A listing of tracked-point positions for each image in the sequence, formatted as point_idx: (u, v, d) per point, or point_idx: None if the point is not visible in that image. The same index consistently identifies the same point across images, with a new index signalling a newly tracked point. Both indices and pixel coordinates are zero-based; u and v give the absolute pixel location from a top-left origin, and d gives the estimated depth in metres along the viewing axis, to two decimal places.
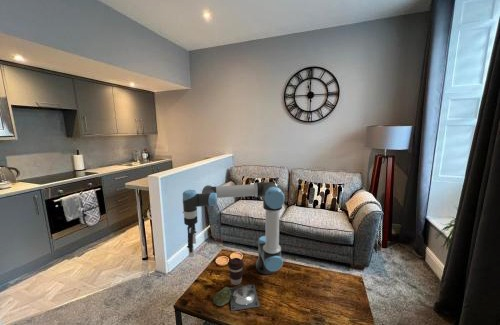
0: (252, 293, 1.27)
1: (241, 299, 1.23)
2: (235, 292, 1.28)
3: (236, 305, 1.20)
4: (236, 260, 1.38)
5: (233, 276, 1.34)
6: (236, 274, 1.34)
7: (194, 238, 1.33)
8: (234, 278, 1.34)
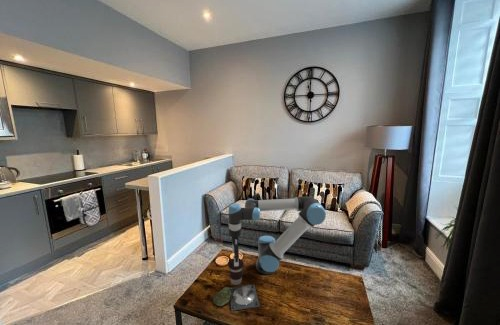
0: (252, 293, 1.27)
1: (241, 299, 1.23)
2: (235, 292, 1.28)
3: (236, 305, 1.20)
4: None
5: (233, 276, 1.34)
6: (236, 274, 1.34)
7: None
8: (234, 278, 1.34)
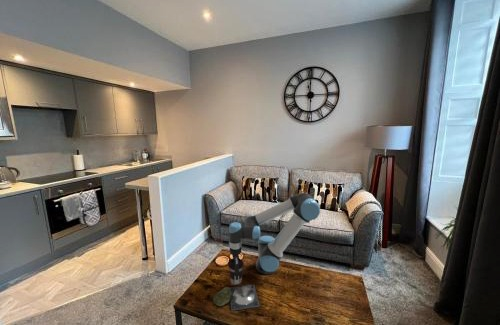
0: (252, 293, 1.27)
1: (241, 299, 1.23)
2: (235, 292, 1.28)
3: (236, 305, 1.20)
4: None
5: (233, 276, 1.34)
6: None
7: None
8: (234, 278, 1.34)
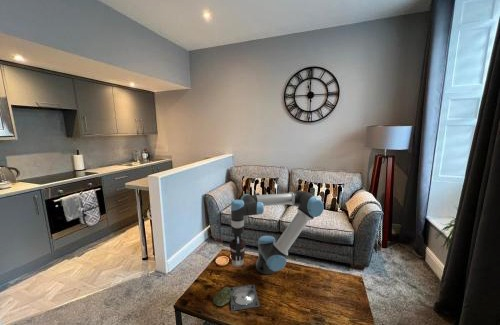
0: (252, 293, 1.27)
1: (241, 299, 1.23)
2: (235, 292, 1.28)
3: (236, 305, 1.20)
4: None
5: (234, 257, 1.26)
6: None
7: None
8: (235, 259, 1.26)
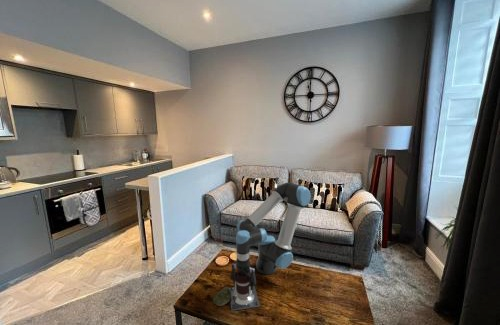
0: (252, 293, 1.27)
1: None
2: (235, 292, 1.28)
3: (236, 305, 1.20)
4: None
5: (247, 289, 1.21)
6: (249, 285, 1.23)
7: None
8: (248, 291, 1.22)
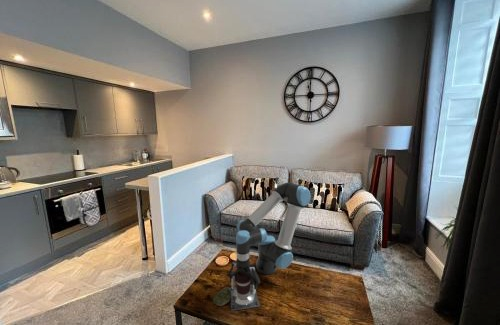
0: (252, 293, 1.27)
1: None
2: (235, 292, 1.28)
3: (236, 305, 1.20)
4: None
5: (247, 289, 1.21)
6: (249, 285, 1.23)
7: (234, 281, 1.28)
8: (248, 291, 1.22)
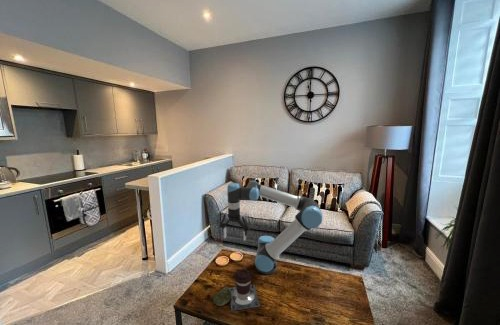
0: (252, 293, 1.27)
1: None
2: (235, 292, 1.28)
3: (236, 305, 1.20)
4: (241, 272, 1.24)
5: (247, 289, 1.21)
6: (249, 285, 1.23)
7: (225, 231, 1.40)
8: (248, 291, 1.22)
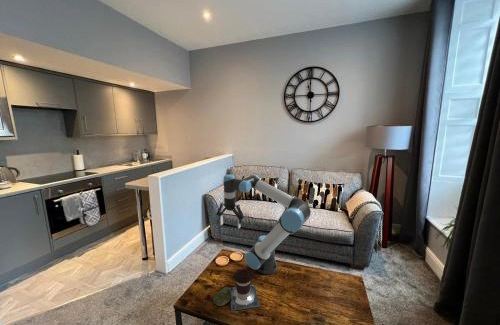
0: (252, 293, 1.27)
1: None
2: (235, 292, 1.28)
3: (236, 305, 1.20)
4: (241, 272, 1.24)
5: (247, 289, 1.21)
6: (249, 285, 1.23)
7: (222, 219, 1.50)
8: (248, 291, 1.22)
